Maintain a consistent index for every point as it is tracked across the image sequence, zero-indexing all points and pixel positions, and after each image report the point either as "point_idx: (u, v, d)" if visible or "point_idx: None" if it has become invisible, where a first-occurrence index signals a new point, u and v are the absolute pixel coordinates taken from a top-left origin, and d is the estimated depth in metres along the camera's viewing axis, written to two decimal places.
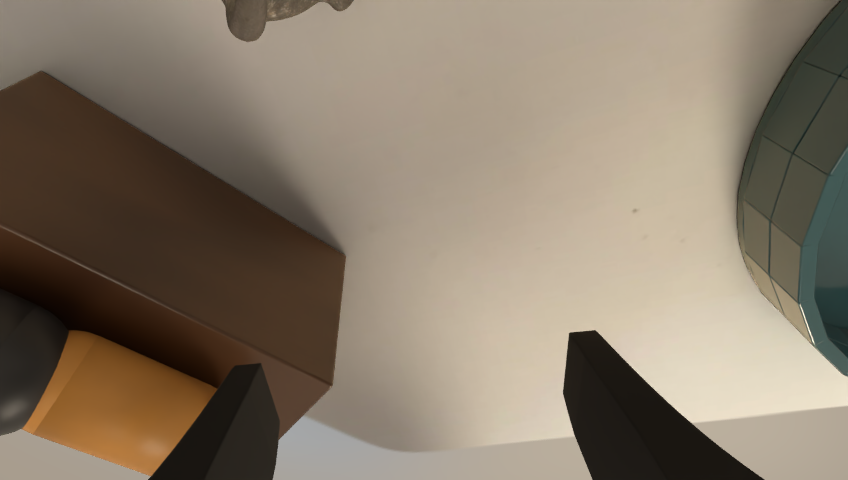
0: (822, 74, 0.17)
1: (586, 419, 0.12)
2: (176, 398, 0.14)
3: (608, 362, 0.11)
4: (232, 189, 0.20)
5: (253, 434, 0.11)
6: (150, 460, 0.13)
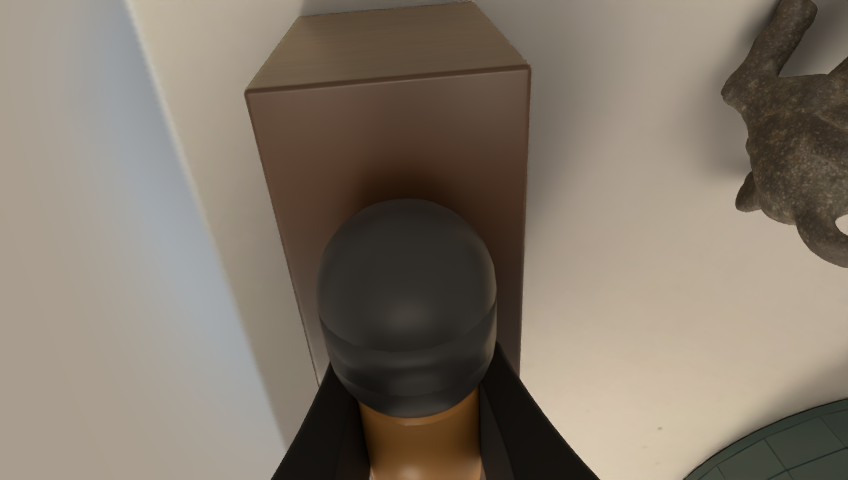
0: (833, 437, 0.24)
1: (481, 430, 0.12)
2: None
3: (496, 373, 0.11)
4: None
5: (360, 424, 0.11)
6: None
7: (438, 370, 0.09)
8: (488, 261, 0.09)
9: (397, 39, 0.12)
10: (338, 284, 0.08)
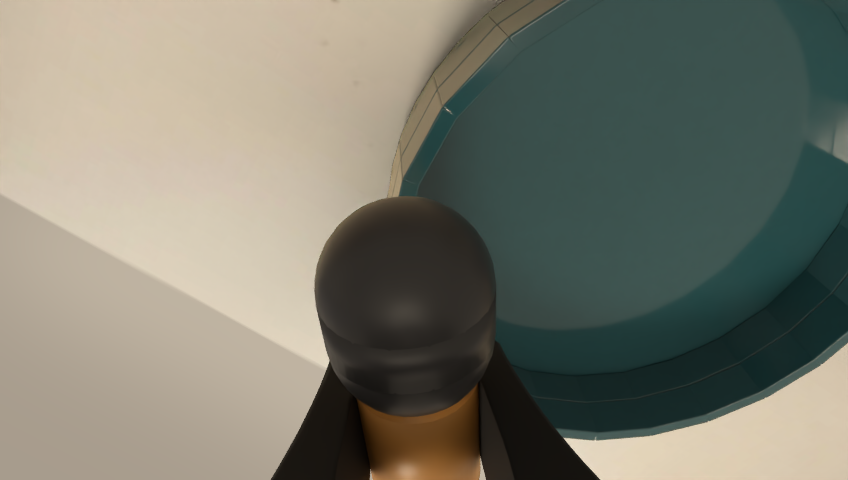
0: None
1: (481, 430, 0.12)
2: (479, 446, 0.12)
3: (496, 373, 0.11)
4: None
5: (360, 423, 0.11)
6: None
7: (437, 368, 0.09)
8: (487, 259, 0.09)
9: None
10: (337, 282, 0.08)
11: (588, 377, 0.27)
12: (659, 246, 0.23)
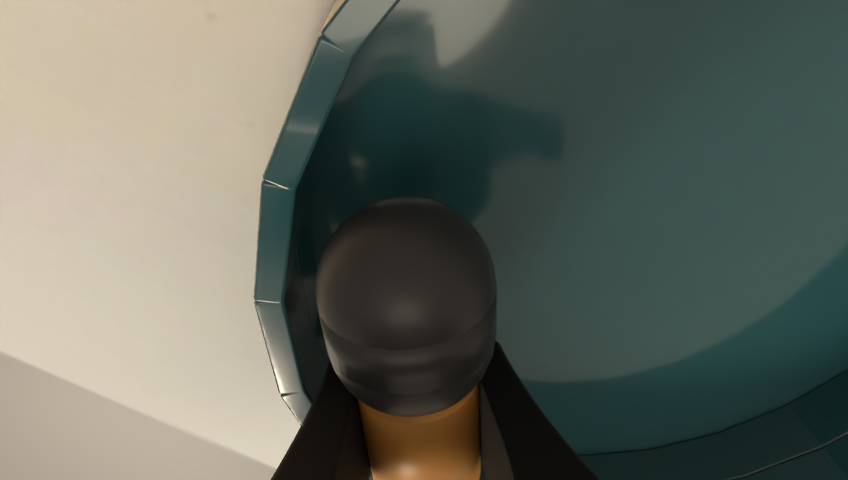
0: None
1: (481, 430, 0.12)
2: None
3: (496, 373, 0.11)
4: None
5: (360, 424, 0.11)
6: None
7: (438, 368, 0.09)
8: (488, 259, 0.09)
9: None
10: (338, 282, 0.08)
11: (600, 458, 0.19)
12: (710, 279, 0.15)
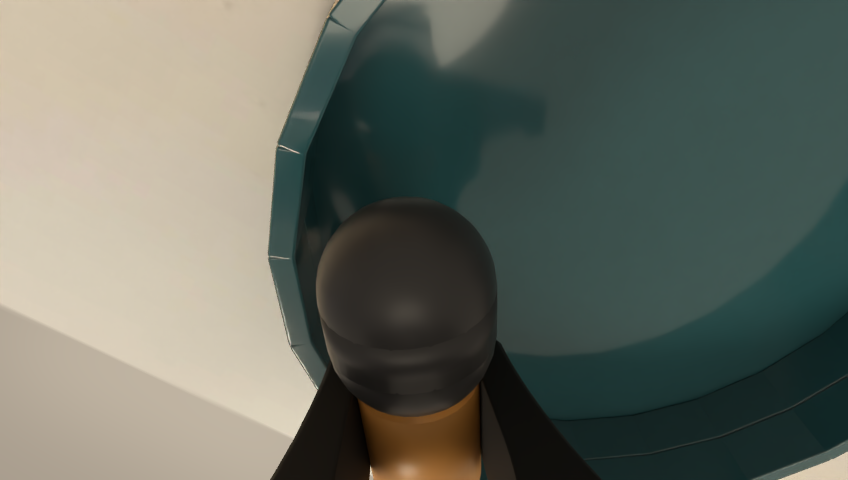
0: None
1: (482, 430, 0.12)
2: (480, 446, 0.12)
3: (498, 373, 0.11)
4: None
5: (359, 424, 0.11)
6: None
7: (438, 368, 0.09)
8: (488, 259, 0.09)
9: None
10: (338, 282, 0.08)
11: (586, 422, 0.21)
12: (684, 250, 0.17)
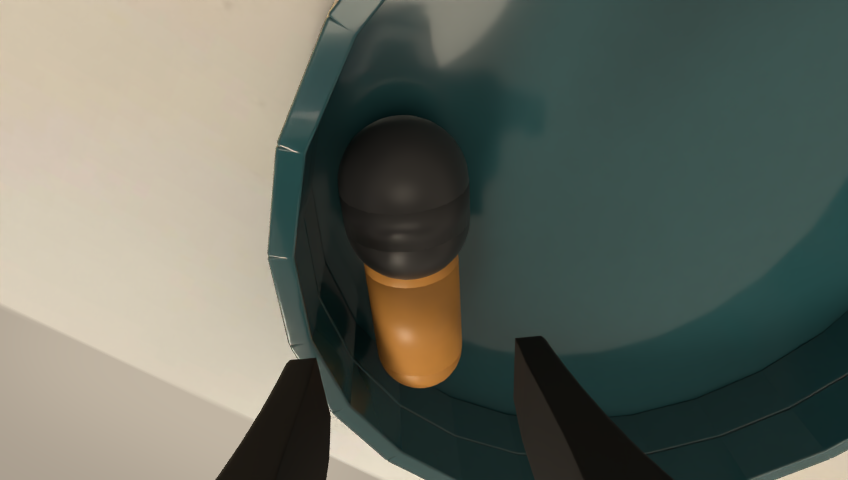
0: None
1: (529, 425, 0.12)
2: None
3: (548, 368, 0.11)
4: None
5: (313, 428, 0.11)
6: (428, 359, 0.15)
7: (428, 231, 0.12)
8: (462, 157, 0.12)
9: None
10: (356, 170, 0.12)
11: None
12: (683, 249, 0.17)
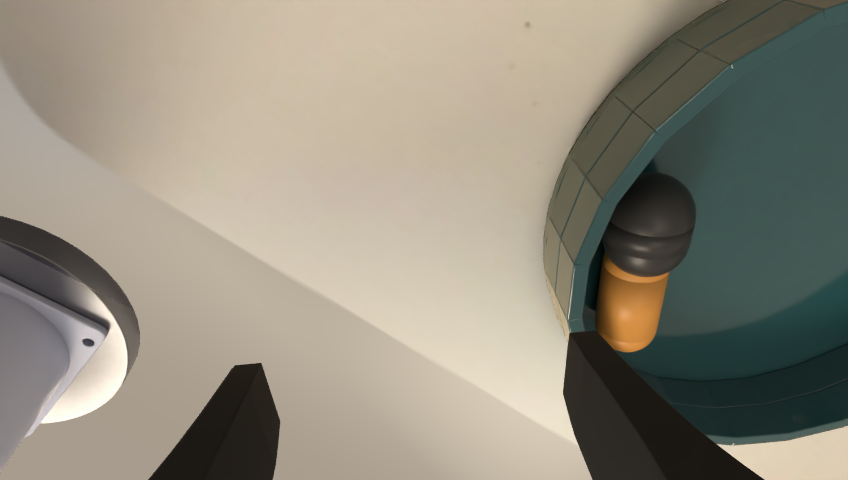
0: None
1: (586, 419, 0.12)
2: None
3: (608, 362, 0.11)
4: None
5: (254, 434, 0.11)
6: (648, 329, 0.22)
7: (682, 244, 0.19)
8: None
9: None
10: (641, 210, 0.19)
11: (714, 383, 0.28)
12: (802, 256, 0.24)
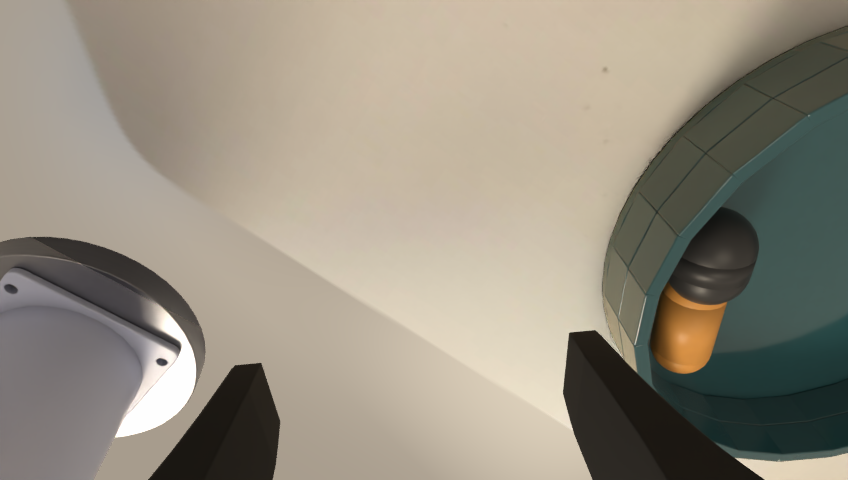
0: (836, 51, 0.18)
1: (586, 419, 0.12)
2: None
3: (608, 362, 0.11)
4: None
5: (254, 434, 0.11)
6: (705, 353, 0.23)
7: (746, 276, 0.21)
8: None
9: None
10: (709, 244, 0.20)
11: (756, 400, 0.29)
12: (847, 282, 0.25)
